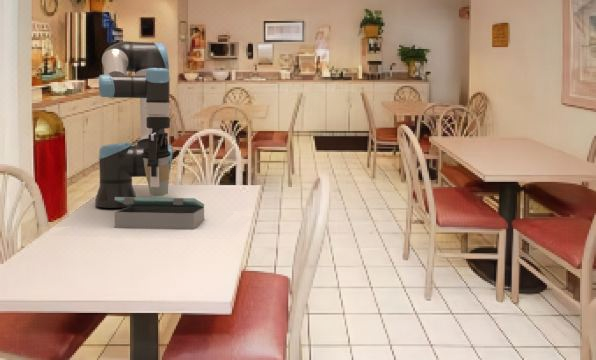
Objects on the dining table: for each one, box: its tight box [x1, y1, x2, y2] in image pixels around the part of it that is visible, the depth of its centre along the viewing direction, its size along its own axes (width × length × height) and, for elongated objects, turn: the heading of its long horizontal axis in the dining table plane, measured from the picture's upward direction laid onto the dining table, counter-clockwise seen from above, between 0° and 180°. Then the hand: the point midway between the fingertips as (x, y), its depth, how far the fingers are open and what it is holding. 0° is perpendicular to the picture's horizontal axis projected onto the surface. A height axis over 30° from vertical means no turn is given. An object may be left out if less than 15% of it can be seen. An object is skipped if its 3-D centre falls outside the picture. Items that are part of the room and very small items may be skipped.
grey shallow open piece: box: [114, 206, 205, 230], centre depth 207 cm, size 15×26×5 cm, turn 86°
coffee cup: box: [141, 147, 171, 197], centre depth 204 cm, size 9×9×15 cm
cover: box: [115, 196, 205, 208], centre depth 206 cm, size 16×26×2 cm, turn 86°
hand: (159, 184), depth 204 cm, fingers closed on coffee cup, 9 cm apart
